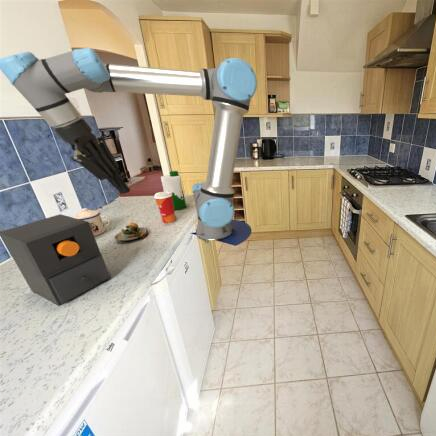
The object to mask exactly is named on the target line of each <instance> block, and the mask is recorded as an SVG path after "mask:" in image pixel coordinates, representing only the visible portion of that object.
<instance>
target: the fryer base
mask: <svg viewBox="0 0 436 436" xmlns="http://www.w3.org/2000/svg"><path fill="white" fill-rule="evenodd" d="M97 256H102V258H103V261H104V263H105V266H106V268H107V271H108V273H109V276H110V278H108V279H106V280H104V281H103V282H101V283H99V284H97V285H95V286H93V287H92V288H90V289H88V290H86V291H84V292H82V293H81V294H79V295H77V296H75V297H73V298H72V299H70V300H68V301H66V302H64V303H61V302H60V300H59V298H58V297H57V295H56V293H55V291H54V289H53V287H52V285H51V283H50V281H49V278H50V277H52V276H55V275H57V274H59V273H61V272H63V271H66V270H68V269H70V268H72V267H74V266H76V265H79V264H81V263H83V262H85V261H87V260H90V259H92V258H94V257H97ZM16 266H17V268H18V270H19V271H20V273H21V275H22V277H23V279H24V280H25V282H26V284H27V285H28V287H29V289H30V290H31V292H33V293H34V294H36V295H38V296H40V297H41V298H43V299H46V300H48V302H49V301H50V302H51V303H52V304H54V305H56V306H58V307H60V306H62V305H64V304H66V303H67V302H69V301H71V300H73V299H75V298H77V297H78V296H80V295H82V294H84V293H86V292H88V291H89V290H91V289H93V288H95V287H97V286H98V285H100V284H102V283H104V282H106V281H108V280H110V279H111V274H110V271H109V270H108V267H107V264H106V262H105V259H104V256H103V254H102V251H100V252H98V253H96V254H94V255H92V256H89V257H87V258H85V259H83V260H80V261H78V262H76V263H74V264H71V265H69V266H67V267H65V268H63V269H60V270H58V271H56V272H54V273H51V274H49V275H47V276H45V277H42V276H40V275H38V274H36V273H34V272H32V271H30V270H28V269H26V268H24V267H22V266H20V265H18V264H16Z"/></svg>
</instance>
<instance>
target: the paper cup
mask: <svg viewBox="0 0 436 436" xmlns="http://www.w3.org/2000/svg"><path fill="white" fill-rule="evenodd" d="M153 199H155V202H156V205H157V208H158V212H159V214H160V217H161V220H162V222H163V223H164V224H170V223H173V222H175V221H176V213H175V211H174V206H173V200H172V194H171V192H169V191H166V192H164V191H159V192H156V193H155V194H154V198H153Z"/></svg>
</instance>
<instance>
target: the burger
mask: <svg viewBox="0 0 436 436" xmlns="http://www.w3.org/2000/svg"><path fill="white" fill-rule="evenodd" d="M133 221H134V219H132V222H130V223H127V224H126V225H125V228H126V229H125V228H122V229H121V231H120V232H119V233H117V234H116V235H115V236H114V239H115V240H117V241H122V242H125V241H127V242H128V241H133V240H137V239H139V238H140V239H141V240H144V239H146V238H147V235H149V231H148V229H147V228H146V227H139V225H138V223H135V222H133Z"/></svg>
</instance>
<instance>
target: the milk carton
mask: <svg viewBox="0 0 436 436" xmlns="http://www.w3.org/2000/svg"><path fill="white" fill-rule="evenodd" d="M160 180H161V186H162V190H163V192H166V191H169V192H171V194H172V200H173V206H174V212H175V211H180V210H185V209H187V204H186V198H185V193H184V188H183V184H182V176H181V175H180V174H179V171H178V170H172V171H169V174H166V175H161V176H160Z"/></svg>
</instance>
